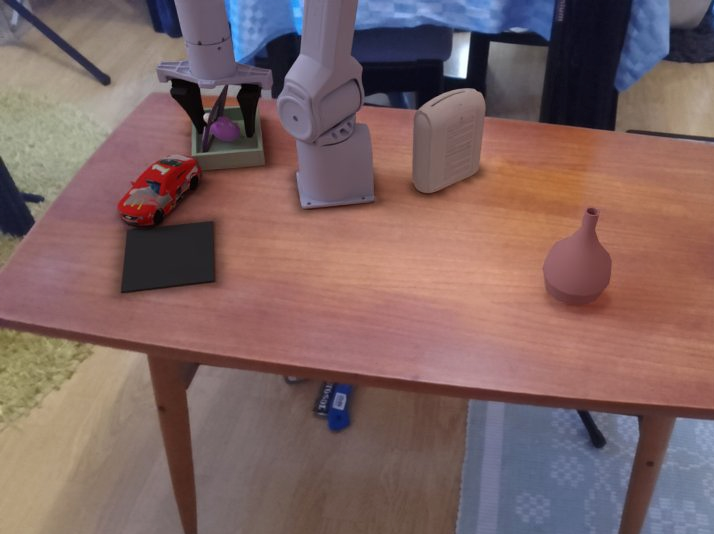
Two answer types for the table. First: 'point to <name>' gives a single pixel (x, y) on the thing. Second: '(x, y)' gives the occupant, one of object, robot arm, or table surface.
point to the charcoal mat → (168, 256)
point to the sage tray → (230, 145)
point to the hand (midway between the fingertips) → (227, 132)
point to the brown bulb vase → (578, 265)
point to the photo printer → (447, 139)
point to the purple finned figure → (220, 124)
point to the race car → (159, 190)
